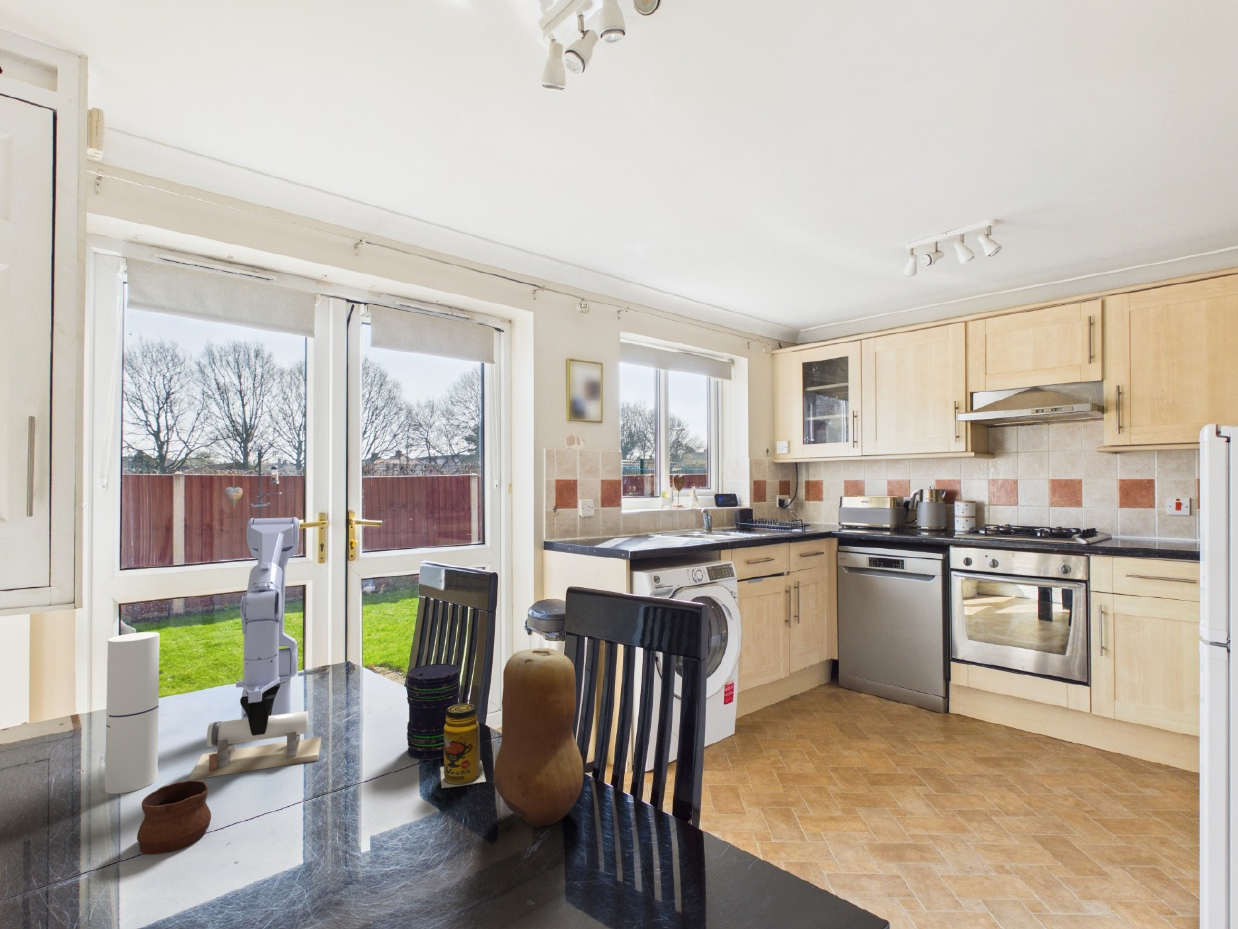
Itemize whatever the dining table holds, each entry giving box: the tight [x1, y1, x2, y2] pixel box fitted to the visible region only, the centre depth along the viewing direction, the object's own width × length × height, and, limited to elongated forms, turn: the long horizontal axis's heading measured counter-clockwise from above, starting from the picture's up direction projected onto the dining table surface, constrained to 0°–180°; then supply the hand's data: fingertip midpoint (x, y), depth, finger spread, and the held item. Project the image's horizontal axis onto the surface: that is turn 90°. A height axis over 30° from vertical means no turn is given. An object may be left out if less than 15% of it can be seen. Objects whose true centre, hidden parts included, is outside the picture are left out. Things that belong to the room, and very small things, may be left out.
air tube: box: [206, 710, 309, 748], centre depth 118 cm, size 16×4×4 cm, turn 112°
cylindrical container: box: [104, 631, 161, 795], centre depth 109 cm, size 7×7×25 cm
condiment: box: [439, 702, 487, 789], centre depth 111 cm, size 7×8×12 cm
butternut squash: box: [492, 647, 584, 828], centre depth 96 cm, size 14×13×25 cm
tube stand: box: [190, 730, 322, 780], centre depth 117 cm, size 20×9×6 cm, turn 112°
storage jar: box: [406, 663, 461, 761], centre depth 122 cm, size 10×10×15 cm
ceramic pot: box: [136, 779, 229, 855], centre depth 91 cm, size 18×18×7 cm
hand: (260, 729), depth 118 cm, fingers closed on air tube, 4 cm apart
